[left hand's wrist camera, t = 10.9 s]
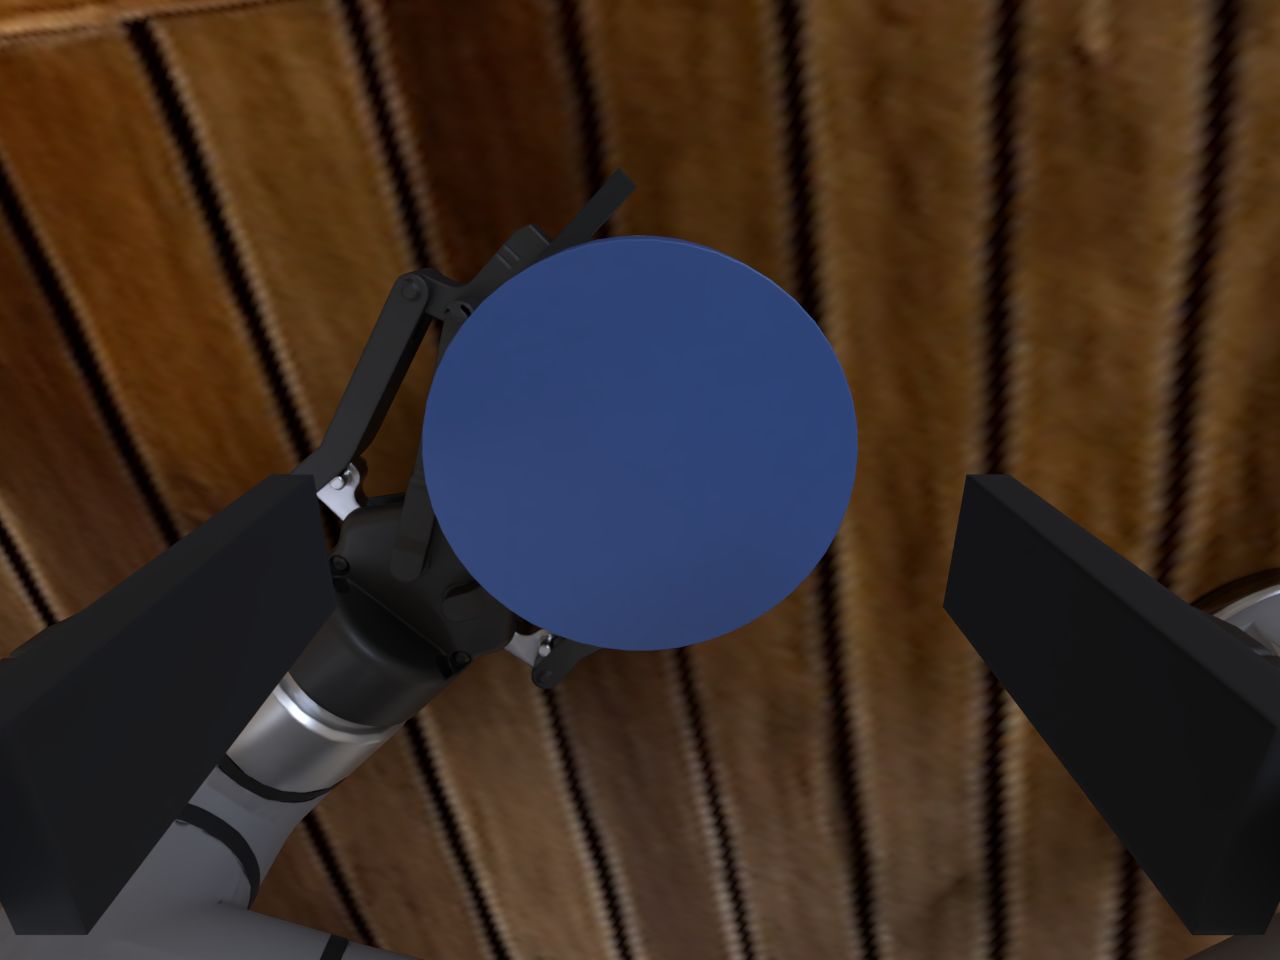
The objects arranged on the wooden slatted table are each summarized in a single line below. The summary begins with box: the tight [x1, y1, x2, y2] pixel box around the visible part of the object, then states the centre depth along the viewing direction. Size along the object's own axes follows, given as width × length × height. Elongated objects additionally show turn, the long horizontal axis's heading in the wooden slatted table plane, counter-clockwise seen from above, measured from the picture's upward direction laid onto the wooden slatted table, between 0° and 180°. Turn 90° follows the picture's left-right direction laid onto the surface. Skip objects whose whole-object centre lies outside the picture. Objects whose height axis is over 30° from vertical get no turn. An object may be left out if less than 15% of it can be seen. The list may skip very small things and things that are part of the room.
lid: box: [422, 236, 858, 650], centre depth 18 cm, size 10×10×2 cm
